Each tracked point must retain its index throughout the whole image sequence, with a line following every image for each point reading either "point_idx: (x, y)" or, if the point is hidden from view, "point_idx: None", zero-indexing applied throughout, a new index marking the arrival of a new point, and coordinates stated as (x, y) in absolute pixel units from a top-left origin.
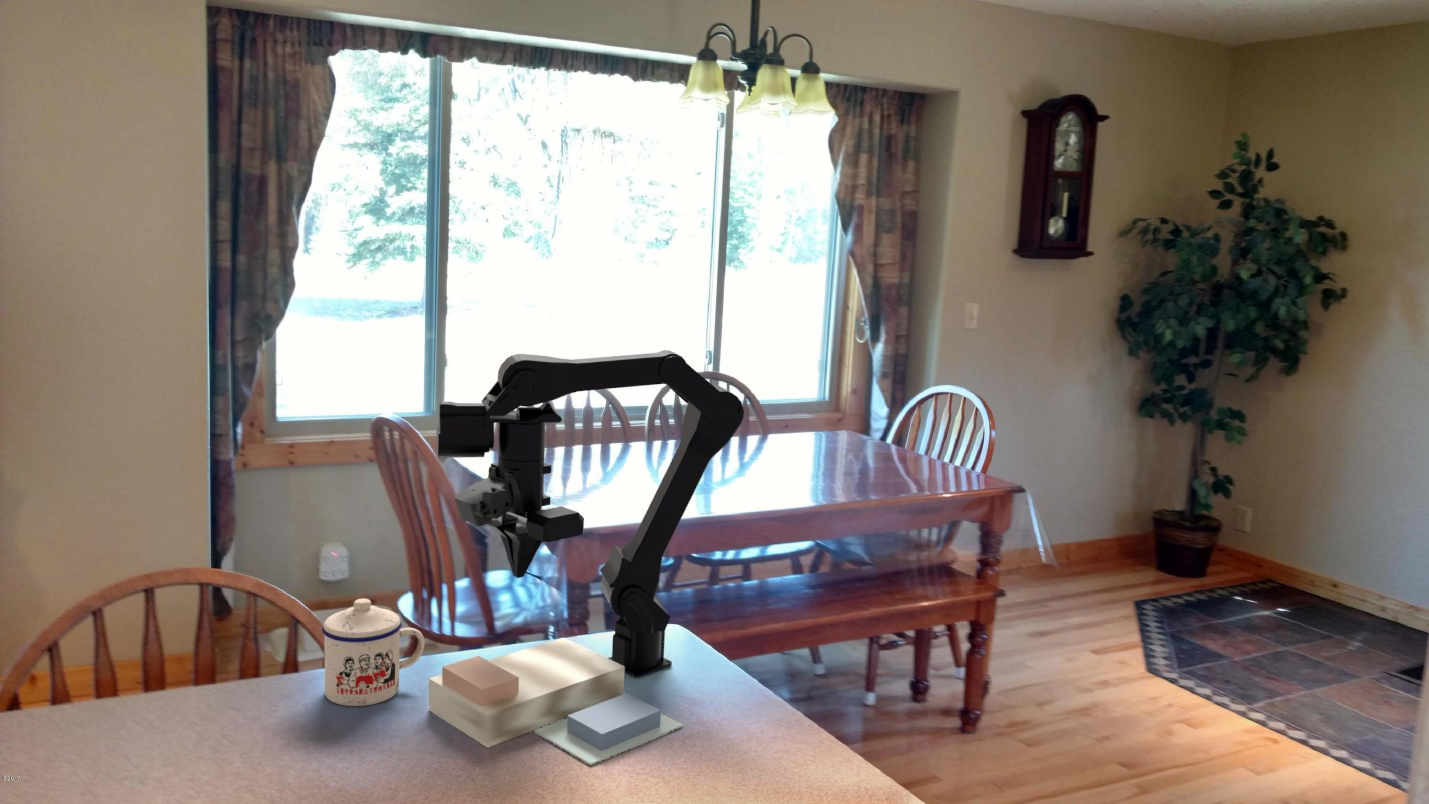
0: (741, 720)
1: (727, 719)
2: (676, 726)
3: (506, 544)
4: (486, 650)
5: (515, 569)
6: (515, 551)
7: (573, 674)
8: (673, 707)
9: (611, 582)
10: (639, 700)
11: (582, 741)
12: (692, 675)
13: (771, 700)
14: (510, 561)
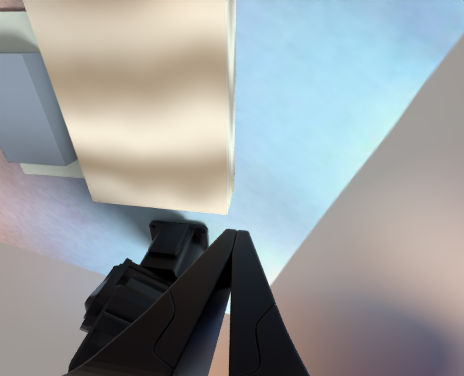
0: (26, 217)
1: (32, 211)
2: (22, 166)
3: (254, 340)
4: (365, 151)
5: (222, 245)
6: (179, 308)
7: (94, 133)
8: (73, 197)
9: (101, 323)
10: (41, 163)
11: (10, 49)
12: (132, 256)
13: (56, 258)
14: (249, 266)
